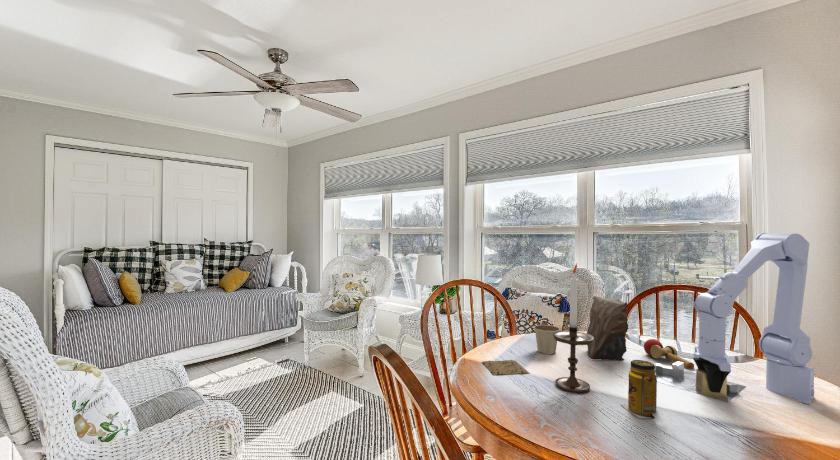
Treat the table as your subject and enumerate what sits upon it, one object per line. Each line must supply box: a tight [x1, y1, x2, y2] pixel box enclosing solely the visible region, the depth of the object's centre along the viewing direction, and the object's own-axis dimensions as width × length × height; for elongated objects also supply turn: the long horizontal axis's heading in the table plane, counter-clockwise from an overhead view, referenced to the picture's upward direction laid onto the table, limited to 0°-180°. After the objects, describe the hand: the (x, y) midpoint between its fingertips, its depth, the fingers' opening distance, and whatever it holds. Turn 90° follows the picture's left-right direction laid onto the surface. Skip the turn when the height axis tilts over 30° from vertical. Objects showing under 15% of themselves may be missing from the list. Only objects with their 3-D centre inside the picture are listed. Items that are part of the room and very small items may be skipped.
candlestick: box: [553, 263, 594, 394], centre depth 110 cm, size 11×11×35 cm
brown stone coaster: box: [481, 359, 531, 376], centre depth 125 cm, size 12×12×1 cm
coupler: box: [695, 368, 728, 397], centre depth 105 cm, size 6×4×6 cm, turn 77°
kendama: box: [643, 338, 695, 370], centre depth 132 cm, size 8×6×18 cm
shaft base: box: [654, 361, 747, 403], centre depth 113 cm, size 21×17×4 cm
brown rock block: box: [586, 295, 629, 361], centre depth 138 cm, size 13×13×20 cm
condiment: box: [621, 359, 658, 420], centre depth 96 cm, size 7×8×12 cm
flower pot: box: [532, 324, 562, 355], centre depth 141 cm, size 9×9×9 cm
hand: (710, 388), depth 105 cm, fingers closed on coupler, 4 cm apart
